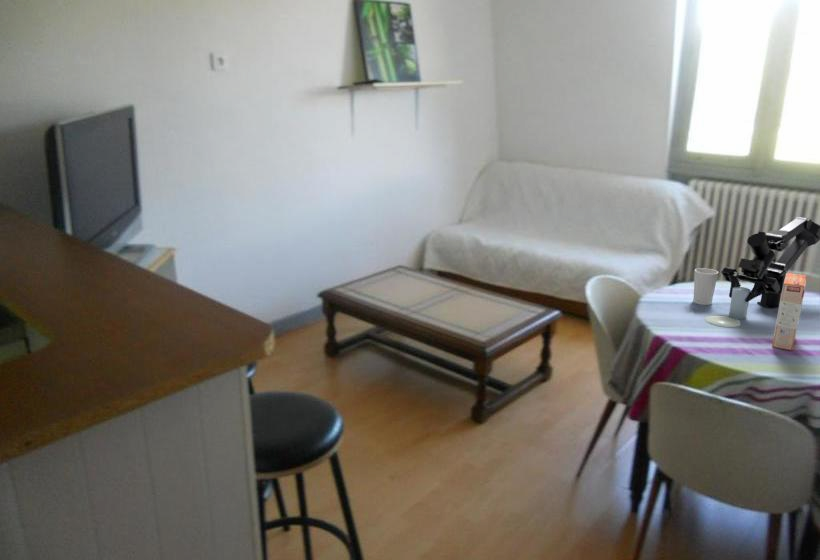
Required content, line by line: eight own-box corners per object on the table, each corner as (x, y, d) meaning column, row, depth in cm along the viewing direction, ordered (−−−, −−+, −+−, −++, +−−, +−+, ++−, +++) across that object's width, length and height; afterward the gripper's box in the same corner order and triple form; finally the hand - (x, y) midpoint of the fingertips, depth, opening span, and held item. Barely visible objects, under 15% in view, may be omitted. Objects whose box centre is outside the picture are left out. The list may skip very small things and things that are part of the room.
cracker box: (793, 351, 198) (805, 285, 192) (771, 347, 201) (782, 282, 195) (796, 337, 210) (807, 274, 204) (774, 333, 213) (785, 271, 207)
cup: (709, 299, 247) (714, 268, 243) (717, 306, 239) (721, 274, 236) (687, 298, 247) (691, 267, 244) (694, 305, 240) (698, 273, 236)
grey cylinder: (737, 313, 232) (741, 286, 229) (749, 318, 227) (754, 290, 224) (725, 314, 230) (729, 287, 227) (737, 320, 225) (741, 292, 222)
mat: (723, 314, 230) (723, 314, 230) (747, 325, 220) (748, 324, 220) (697, 318, 227) (697, 317, 227) (721, 328, 217) (721, 328, 217)
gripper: (728, 244, 231) (705, 279, 228) (781, 255, 216) (757, 293, 214) (737, 262, 238) (715, 297, 235) (789, 274, 223) (767, 311, 220)
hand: (737, 299), depth 226 cm, fingers closed on grey cylinder, 5 cm apart
